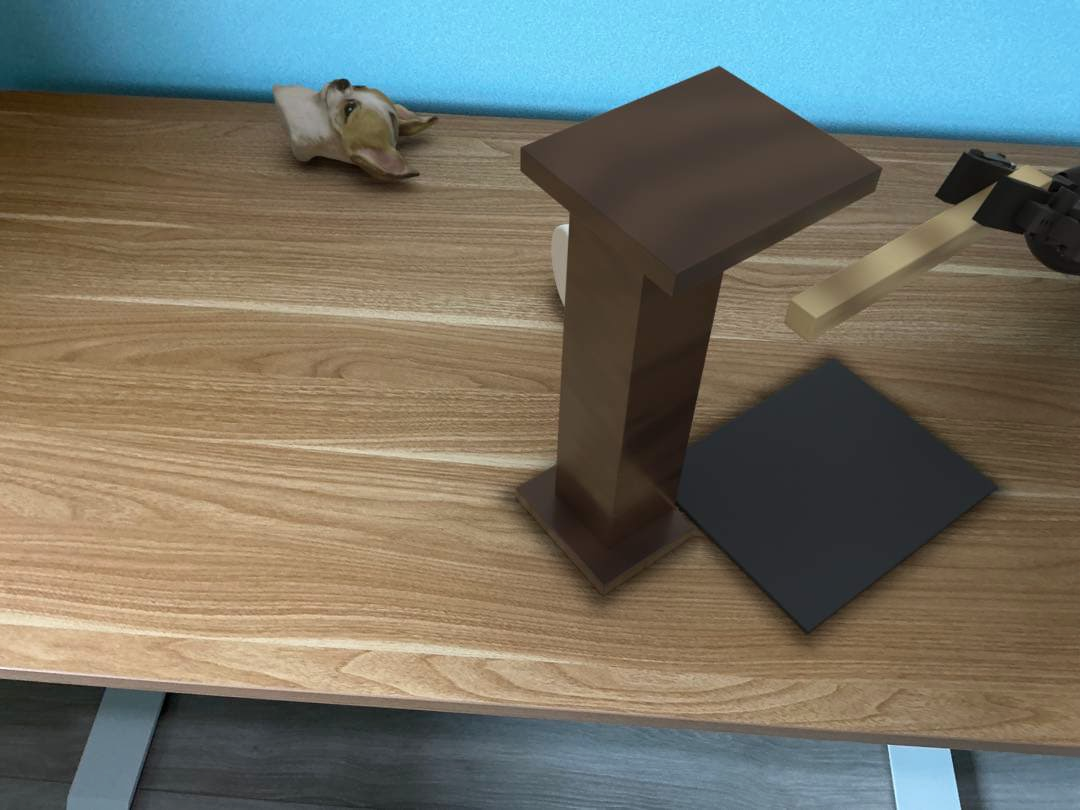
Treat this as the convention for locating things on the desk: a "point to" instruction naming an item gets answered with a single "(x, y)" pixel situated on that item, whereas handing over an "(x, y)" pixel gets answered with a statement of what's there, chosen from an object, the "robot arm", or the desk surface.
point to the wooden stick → (894, 264)
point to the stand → (660, 291)
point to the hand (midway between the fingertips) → (973, 188)
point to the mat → (824, 491)
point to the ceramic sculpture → (349, 126)
